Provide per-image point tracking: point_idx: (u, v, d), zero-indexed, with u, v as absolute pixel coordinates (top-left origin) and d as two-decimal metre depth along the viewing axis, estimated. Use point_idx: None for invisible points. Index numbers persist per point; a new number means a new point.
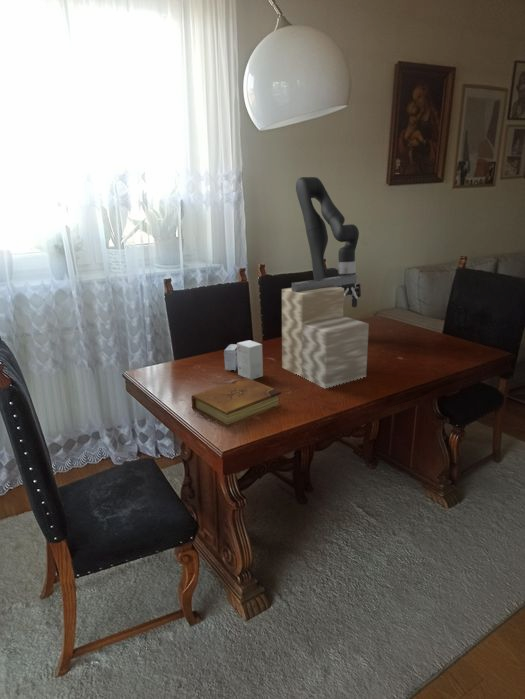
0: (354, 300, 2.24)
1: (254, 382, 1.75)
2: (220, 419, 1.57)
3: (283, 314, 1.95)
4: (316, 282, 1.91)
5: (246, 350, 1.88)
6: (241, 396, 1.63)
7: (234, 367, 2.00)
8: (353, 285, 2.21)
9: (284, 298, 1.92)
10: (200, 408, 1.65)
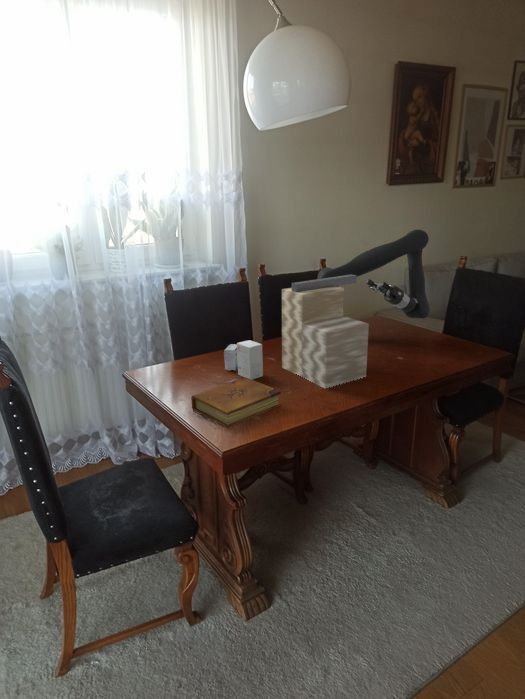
0: (371, 285, 2.15)
1: (254, 382, 1.75)
2: (220, 419, 1.57)
3: (283, 314, 1.95)
4: (316, 282, 1.91)
5: (246, 350, 1.88)
6: (241, 396, 1.64)
7: (234, 367, 2.00)
8: None
9: (284, 298, 1.92)
10: (200, 408, 1.65)
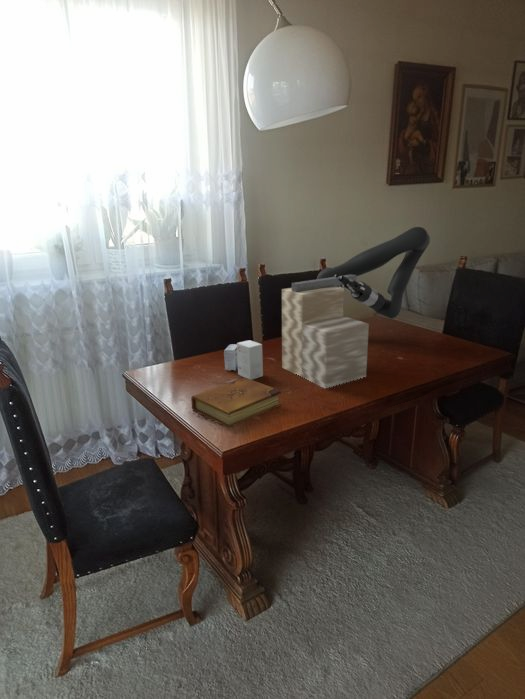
0: None
1: (253, 382, 1.75)
2: (221, 419, 1.57)
3: (283, 314, 1.95)
4: (316, 282, 1.91)
5: (246, 350, 1.88)
6: (241, 396, 1.64)
7: (234, 367, 2.00)
8: None
9: (284, 298, 1.92)
10: (200, 409, 1.65)
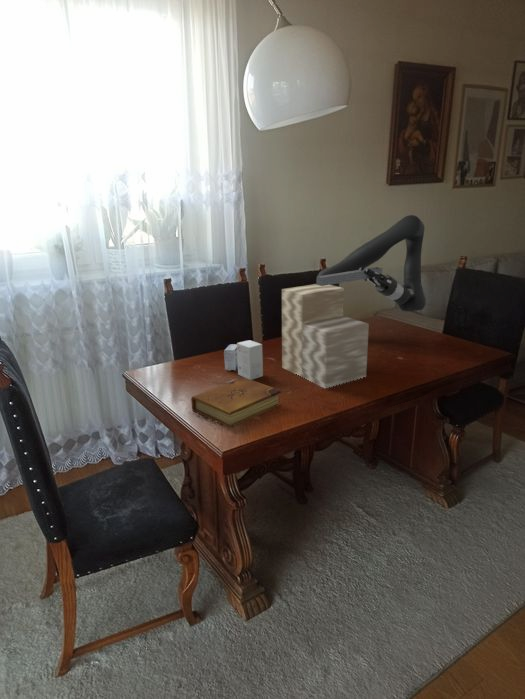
0: None
1: (252, 382, 1.75)
2: (222, 419, 1.57)
3: (283, 314, 1.95)
4: (342, 275, 1.83)
5: (246, 350, 1.88)
6: (241, 396, 1.64)
7: (234, 367, 2.00)
8: None
9: (284, 298, 1.92)
10: (200, 409, 1.64)
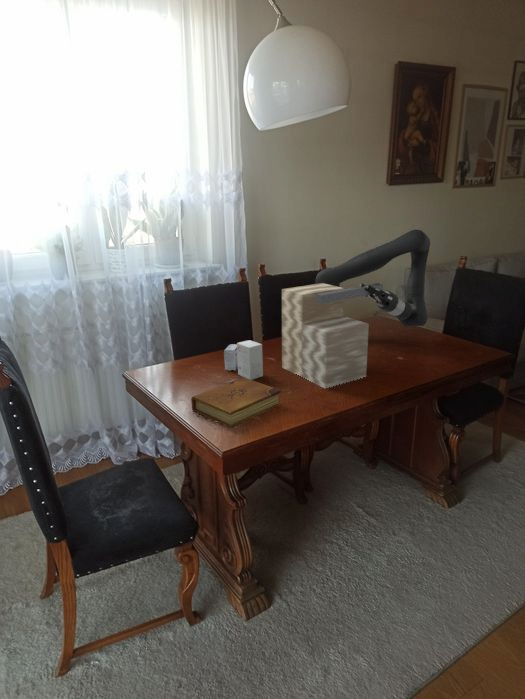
0: None
1: (252, 382, 1.75)
2: (223, 419, 1.57)
3: (283, 314, 1.95)
4: (342, 293, 1.80)
5: (246, 350, 1.88)
6: (241, 396, 1.64)
7: (234, 367, 2.00)
8: None
9: (284, 298, 1.92)
10: (200, 409, 1.64)
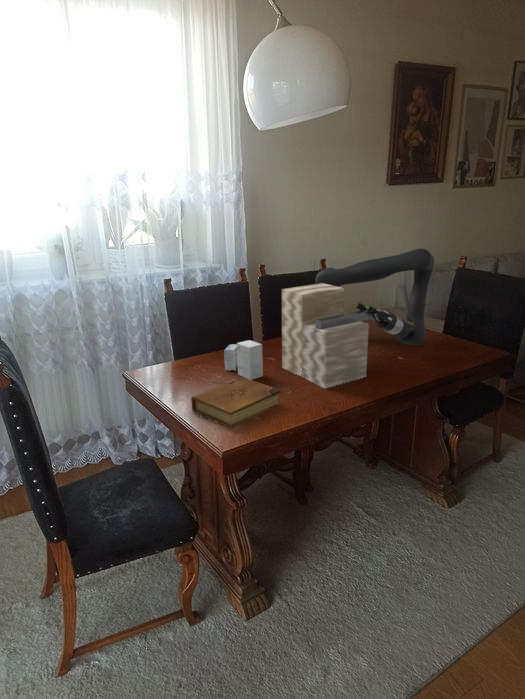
0: (363, 309, 1.94)
1: (252, 382, 1.75)
2: (223, 420, 1.57)
3: (283, 314, 1.95)
4: (341, 318, 1.83)
5: (246, 350, 1.88)
6: (242, 396, 1.64)
7: (234, 367, 2.00)
8: None
9: (284, 298, 1.92)
10: (201, 409, 1.64)
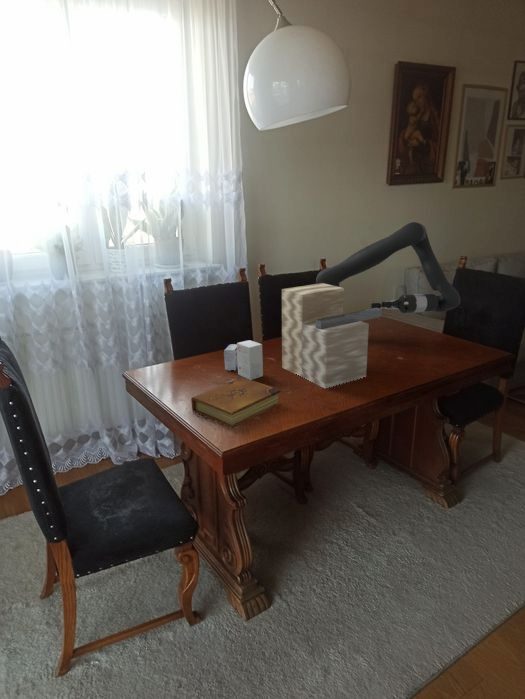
0: (378, 306, 2.05)
1: (251, 381, 1.75)
2: (224, 420, 1.57)
3: (283, 314, 1.95)
4: (341, 318, 1.83)
5: (246, 350, 1.88)
6: (242, 396, 1.64)
7: (234, 367, 2.00)
8: None
9: (284, 298, 1.92)
10: (201, 410, 1.64)
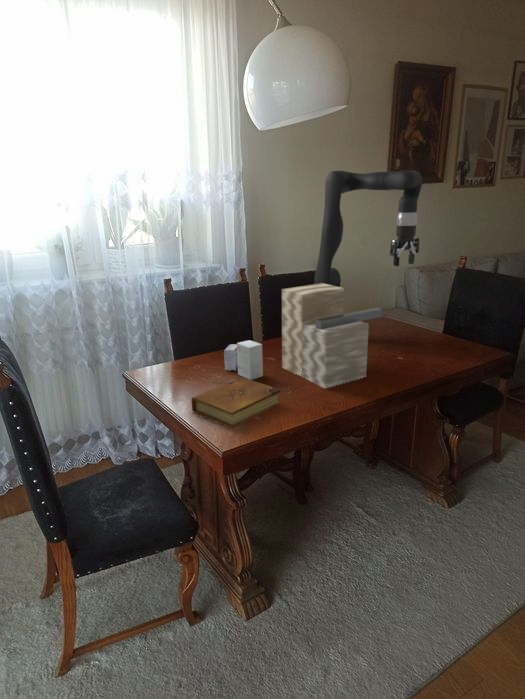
0: (411, 256, 2.05)
1: (251, 381, 1.75)
2: (224, 420, 1.57)
3: (283, 314, 1.95)
4: (341, 318, 1.83)
5: (246, 350, 1.88)
6: (242, 396, 1.64)
7: (234, 367, 2.00)
8: (412, 239, 2.02)
9: (284, 298, 1.92)
10: (201, 410, 1.64)
